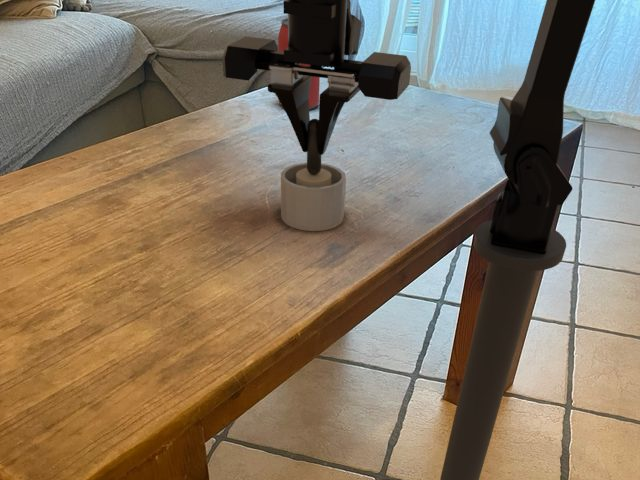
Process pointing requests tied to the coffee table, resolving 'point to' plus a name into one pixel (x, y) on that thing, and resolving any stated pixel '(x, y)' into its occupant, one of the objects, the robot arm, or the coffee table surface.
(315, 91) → the beer can
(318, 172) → the brush
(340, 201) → the grey round cup
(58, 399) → the coffee table surface
